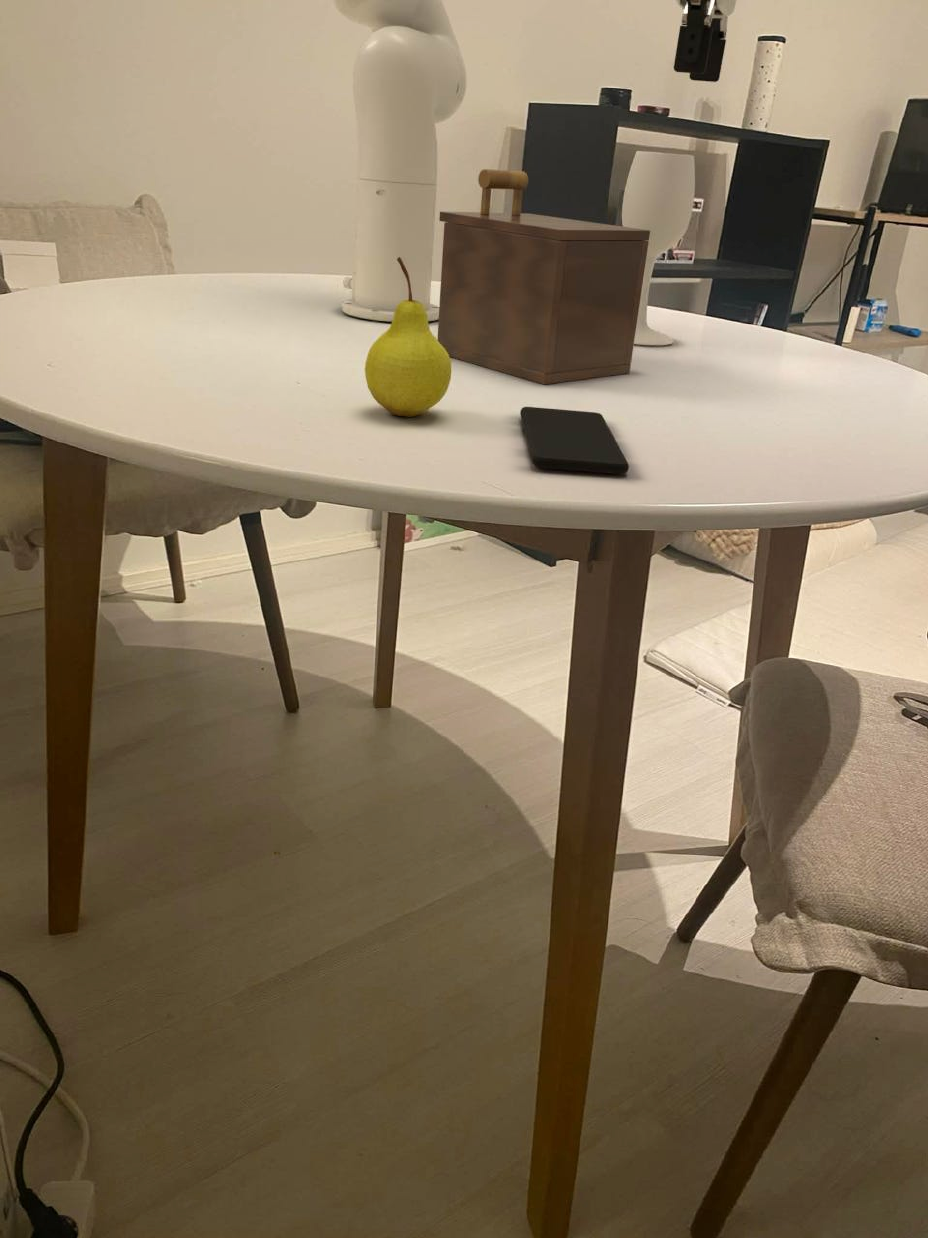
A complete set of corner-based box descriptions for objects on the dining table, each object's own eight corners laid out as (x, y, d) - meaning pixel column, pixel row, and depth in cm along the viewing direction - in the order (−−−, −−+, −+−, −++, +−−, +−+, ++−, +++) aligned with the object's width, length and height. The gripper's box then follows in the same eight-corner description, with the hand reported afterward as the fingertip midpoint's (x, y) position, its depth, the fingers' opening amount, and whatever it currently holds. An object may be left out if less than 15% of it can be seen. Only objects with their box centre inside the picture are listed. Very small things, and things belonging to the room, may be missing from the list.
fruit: (464, 421, 80) (476, 265, 74) (394, 429, 76) (401, 266, 71) (416, 401, 85) (424, 253, 79) (348, 408, 81) (351, 253, 75)
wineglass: (678, 348, 118) (710, 156, 109) (607, 343, 118) (632, 150, 109) (666, 335, 126) (695, 155, 117) (599, 330, 126) (622, 149, 116)
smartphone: (602, 412, 82) (631, 465, 68) (600, 422, 82) (629, 476, 69) (520, 405, 82) (532, 457, 68) (519, 415, 82) (531, 468, 68)
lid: (439, 220, 100) (442, 165, 97) (528, 222, 108) (533, 171, 105) (559, 240, 89) (566, 178, 86) (649, 240, 97) (657, 183, 95)
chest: (436, 352, 105) (444, 222, 99) (521, 344, 113) (533, 223, 107) (544, 384, 94) (559, 240, 89) (629, 373, 102) (649, 240, 97)
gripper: (705, -102, 104) (675, 81, 112) (676, -148, 90) (645, 66, 97) (777, -100, 102) (742, 86, 110) (760, -147, 87) (721, 71, 95)
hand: (696, 76), depth 103 cm, fingers open, 9 cm apart
